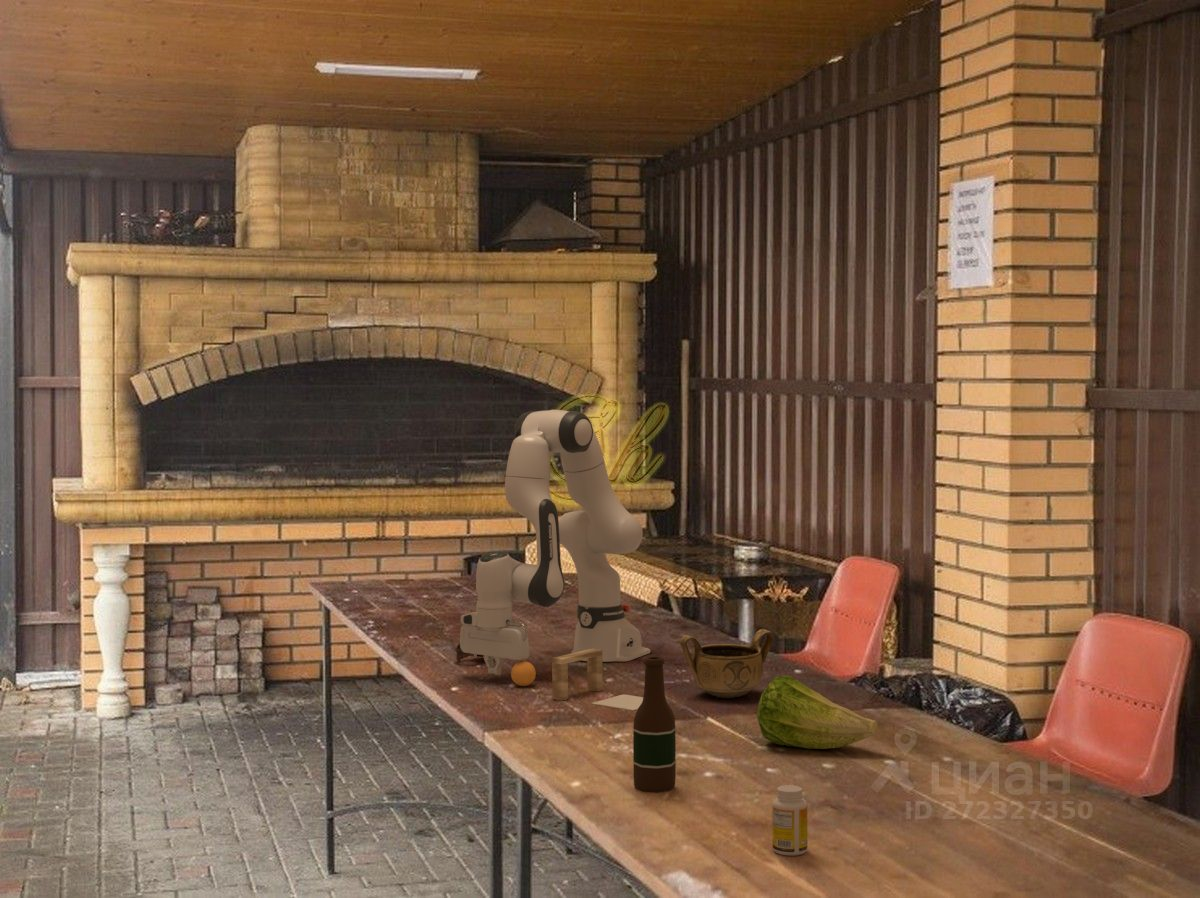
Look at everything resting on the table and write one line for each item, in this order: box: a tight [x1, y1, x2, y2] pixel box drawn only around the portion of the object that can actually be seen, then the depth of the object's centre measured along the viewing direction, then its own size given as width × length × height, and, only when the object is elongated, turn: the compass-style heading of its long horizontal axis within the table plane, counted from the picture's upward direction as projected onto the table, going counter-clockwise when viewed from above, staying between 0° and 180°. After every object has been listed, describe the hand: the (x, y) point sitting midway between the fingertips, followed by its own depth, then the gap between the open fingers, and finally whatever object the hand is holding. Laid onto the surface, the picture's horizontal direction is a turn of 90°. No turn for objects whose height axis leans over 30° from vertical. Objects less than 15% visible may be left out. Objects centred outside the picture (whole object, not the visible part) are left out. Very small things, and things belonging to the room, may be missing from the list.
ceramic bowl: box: [679, 628, 774, 699], centre depth 370 cm, size 22×17×15 cm
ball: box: [510, 660, 537, 687], centre depth 383 cm, size 6×6×6 cm
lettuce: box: [756, 675, 878, 750], centre depth 319 cm, size 14×24×15 cm
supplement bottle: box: [771, 784, 809, 857], centre depth 251 cm, size 6×6×10 cm
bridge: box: [551, 649, 604, 702], centre depth 372 cm, size 3×15×10 cm, turn 142°
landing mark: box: [591, 694, 643, 712], centre depth 363 cm, size 12×12×1 cm
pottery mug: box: [454, 642, 496, 663], centre depth 415 cm, size 12×10×8 cm
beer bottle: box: [632, 656, 677, 793], centre depth 290 cm, size 8×8×24 cm
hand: (494, 674), depth 389 cm, fingers closed
